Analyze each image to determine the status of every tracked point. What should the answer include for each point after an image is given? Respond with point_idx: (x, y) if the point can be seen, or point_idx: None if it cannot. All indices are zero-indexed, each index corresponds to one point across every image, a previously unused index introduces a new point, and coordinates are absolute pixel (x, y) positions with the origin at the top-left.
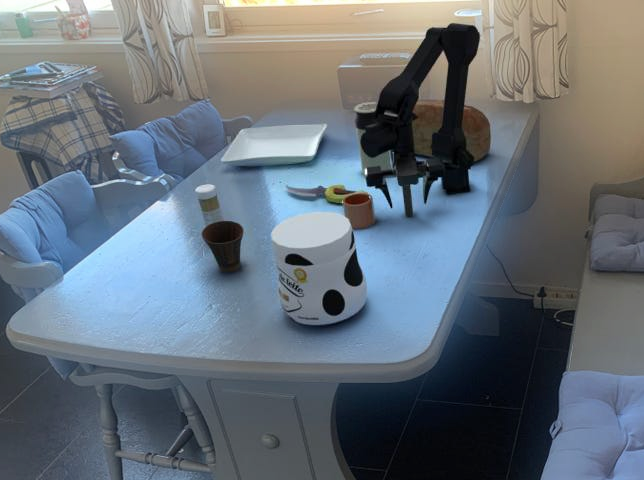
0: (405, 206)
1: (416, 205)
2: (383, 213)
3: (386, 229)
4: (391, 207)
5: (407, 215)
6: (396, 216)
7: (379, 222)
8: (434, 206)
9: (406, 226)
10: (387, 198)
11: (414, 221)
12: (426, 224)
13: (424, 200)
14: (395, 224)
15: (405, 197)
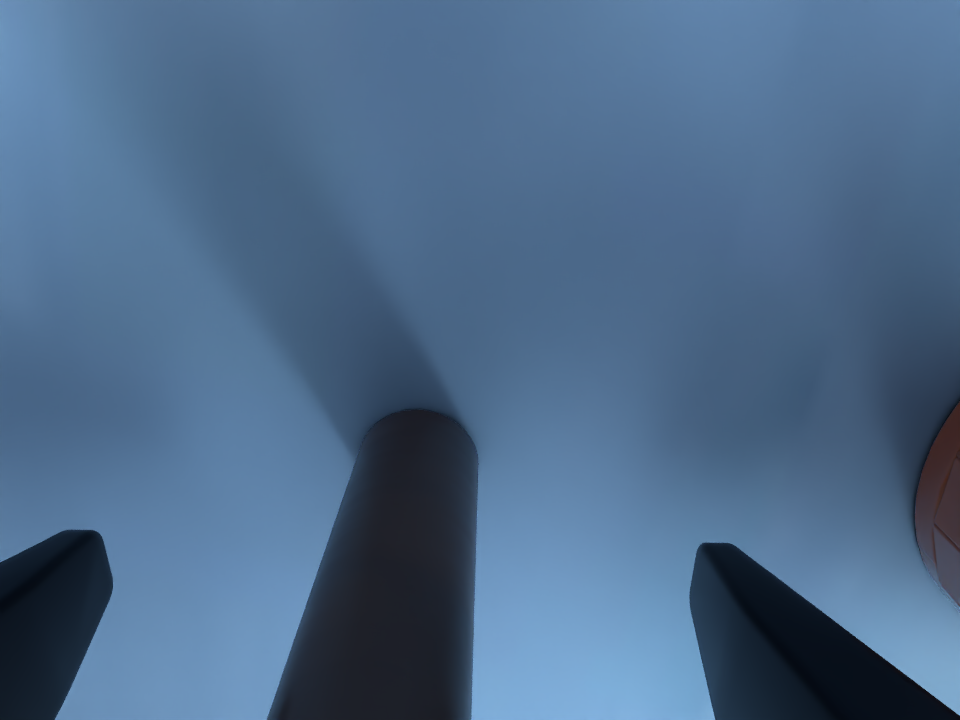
0: (457, 533)
1: None
2: None
3: (877, 96)
4: (730, 550)
5: (449, 429)
6: (603, 485)
7: (890, 385)
8: None
9: (519, 96)
10: (924, 710)
11: (363, 243)
12: (162, 55)
13: (45, 569)
14: (680, 238)
15: (423, 673)
